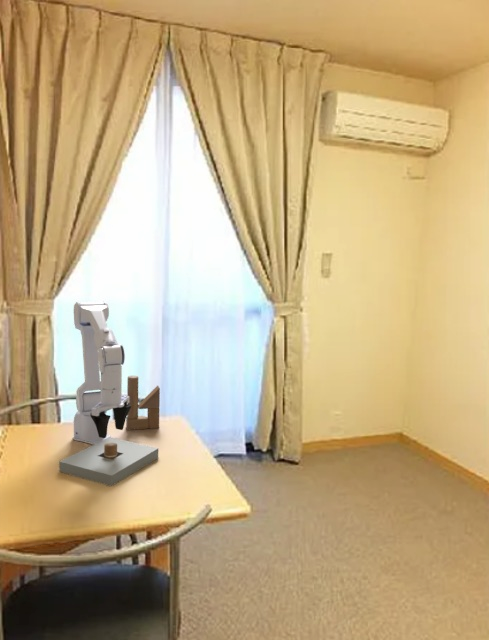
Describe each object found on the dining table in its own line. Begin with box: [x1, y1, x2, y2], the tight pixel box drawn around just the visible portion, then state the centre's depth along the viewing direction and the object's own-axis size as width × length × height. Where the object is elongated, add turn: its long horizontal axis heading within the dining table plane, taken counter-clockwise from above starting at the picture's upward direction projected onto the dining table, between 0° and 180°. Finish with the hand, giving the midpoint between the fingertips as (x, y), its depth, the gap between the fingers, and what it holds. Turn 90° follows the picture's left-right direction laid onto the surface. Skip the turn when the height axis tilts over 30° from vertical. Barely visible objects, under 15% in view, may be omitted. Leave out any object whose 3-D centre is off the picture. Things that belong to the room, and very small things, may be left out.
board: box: [58, 436, 159, 487], centre depth 170 cm, size 18×22×3 cm
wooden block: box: [125, 375, 161, 431], centre depth 199 cm, size 4×11×18 cm, turn 108°
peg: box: [104, 443, 117, 459], centre depth 169 cm, size 4×4×6 cm
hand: (111, 433), depth 169 cm, fingers open, 7 cm apart
